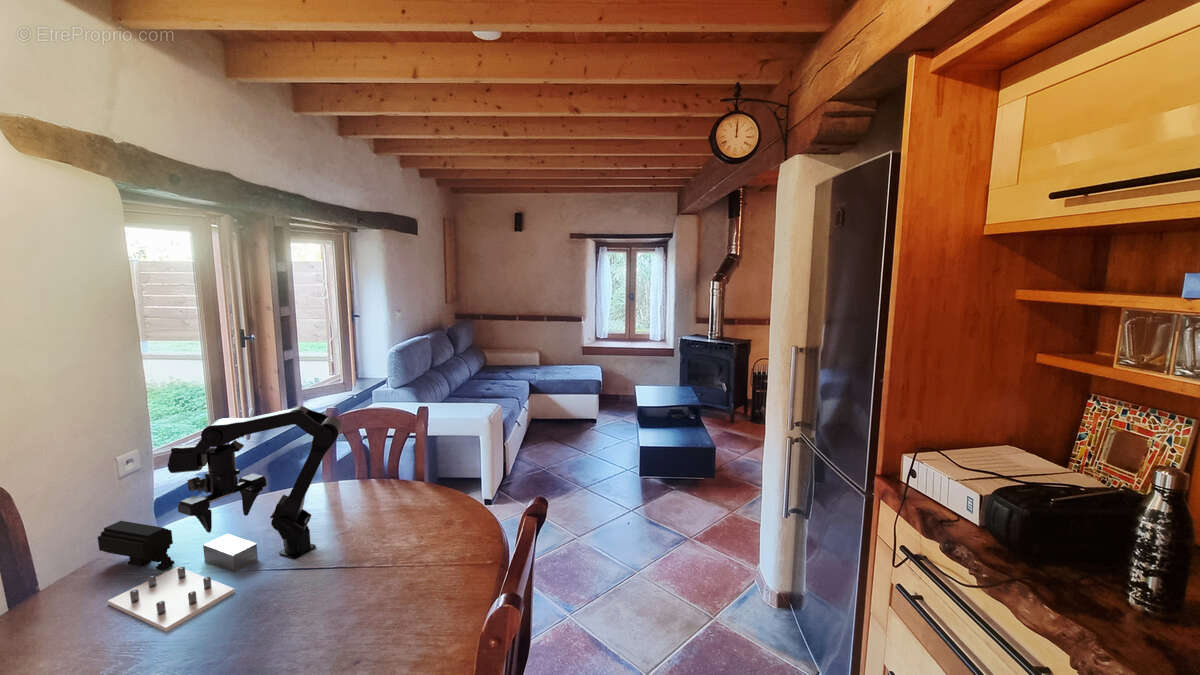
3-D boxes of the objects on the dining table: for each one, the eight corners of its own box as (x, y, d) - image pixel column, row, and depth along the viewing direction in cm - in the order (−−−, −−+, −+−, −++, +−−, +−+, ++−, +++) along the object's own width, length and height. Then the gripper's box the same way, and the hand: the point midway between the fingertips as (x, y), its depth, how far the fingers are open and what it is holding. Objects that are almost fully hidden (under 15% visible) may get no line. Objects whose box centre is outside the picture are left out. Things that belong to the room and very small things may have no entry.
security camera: (155, 577, 123) (151, 540, 121) (99, 566, 126) (94, 530, 125) (183, 561, 129) (180, 526, 128) (129, 551, 133) (125, 517, 132)
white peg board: (234, 592, 118) (233, 579, 117) (166, 631, 105) (164, 617, 104) (178, 570, 126) (176, 557, 125) (108, 604, 113) (106, 590, 112)
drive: (257, 560, 131) (256, 543, 130) (234, 573, 125) (232, 555, 125) (228, 550, 135) (227, 533, 134) (204, 562, 130) (203, 544, 129)
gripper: (239, 450, 138) (243, 502, 140) (160, 476, 120) (167, 534, 123) (266, 456, 134) (270, 509, 136) (189, 484, 117) (195, 544, 119)
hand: (228, 523), depth 129 cm, fingers open, 9 cm apart
